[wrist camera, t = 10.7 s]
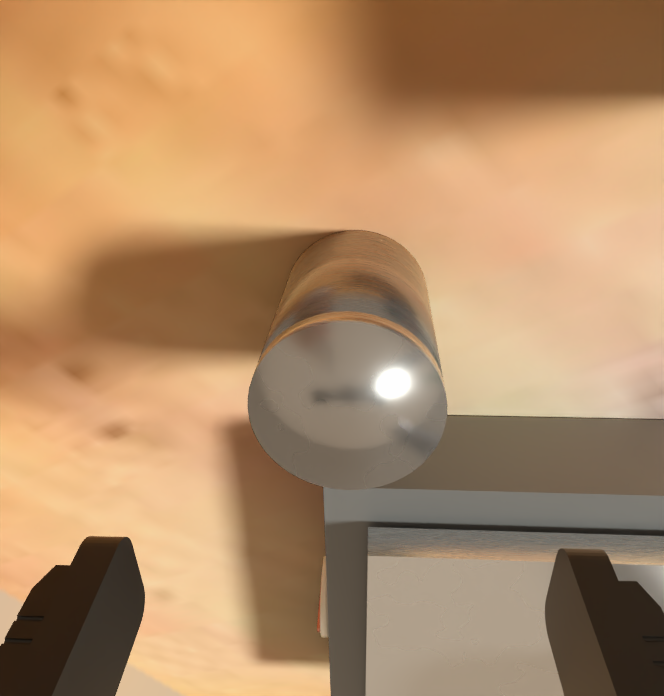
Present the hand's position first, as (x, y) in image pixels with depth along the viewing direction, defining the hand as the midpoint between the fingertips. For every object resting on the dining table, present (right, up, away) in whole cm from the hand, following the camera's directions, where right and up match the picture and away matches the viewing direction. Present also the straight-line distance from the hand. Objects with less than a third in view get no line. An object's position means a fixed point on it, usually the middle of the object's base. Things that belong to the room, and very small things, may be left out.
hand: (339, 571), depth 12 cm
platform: (+8, -7, +12) cm, 16 cm away
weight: (+1, +6, +9) cm, 11 cm away
